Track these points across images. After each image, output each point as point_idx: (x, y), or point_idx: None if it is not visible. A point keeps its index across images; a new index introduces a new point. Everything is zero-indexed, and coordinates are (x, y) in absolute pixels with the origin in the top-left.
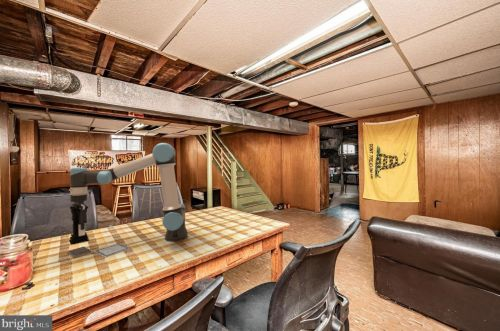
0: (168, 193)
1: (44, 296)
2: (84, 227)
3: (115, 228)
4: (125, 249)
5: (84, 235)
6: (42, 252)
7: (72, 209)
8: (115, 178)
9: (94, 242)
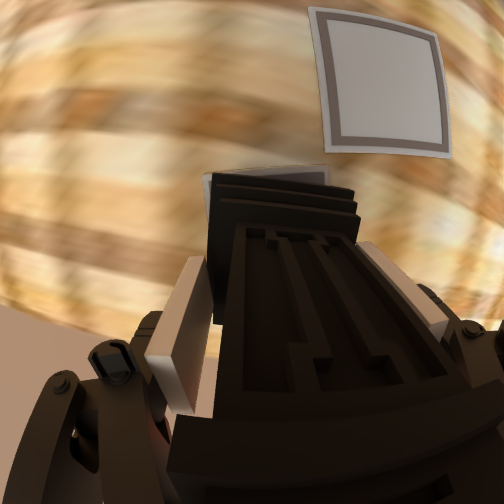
0: None
1: None
2: (437, 297)
3: (11, 14)
4: (437, 54)
5: (351, 237)
6: (109, 326)
7: None
8: None
9: (129, 100)
